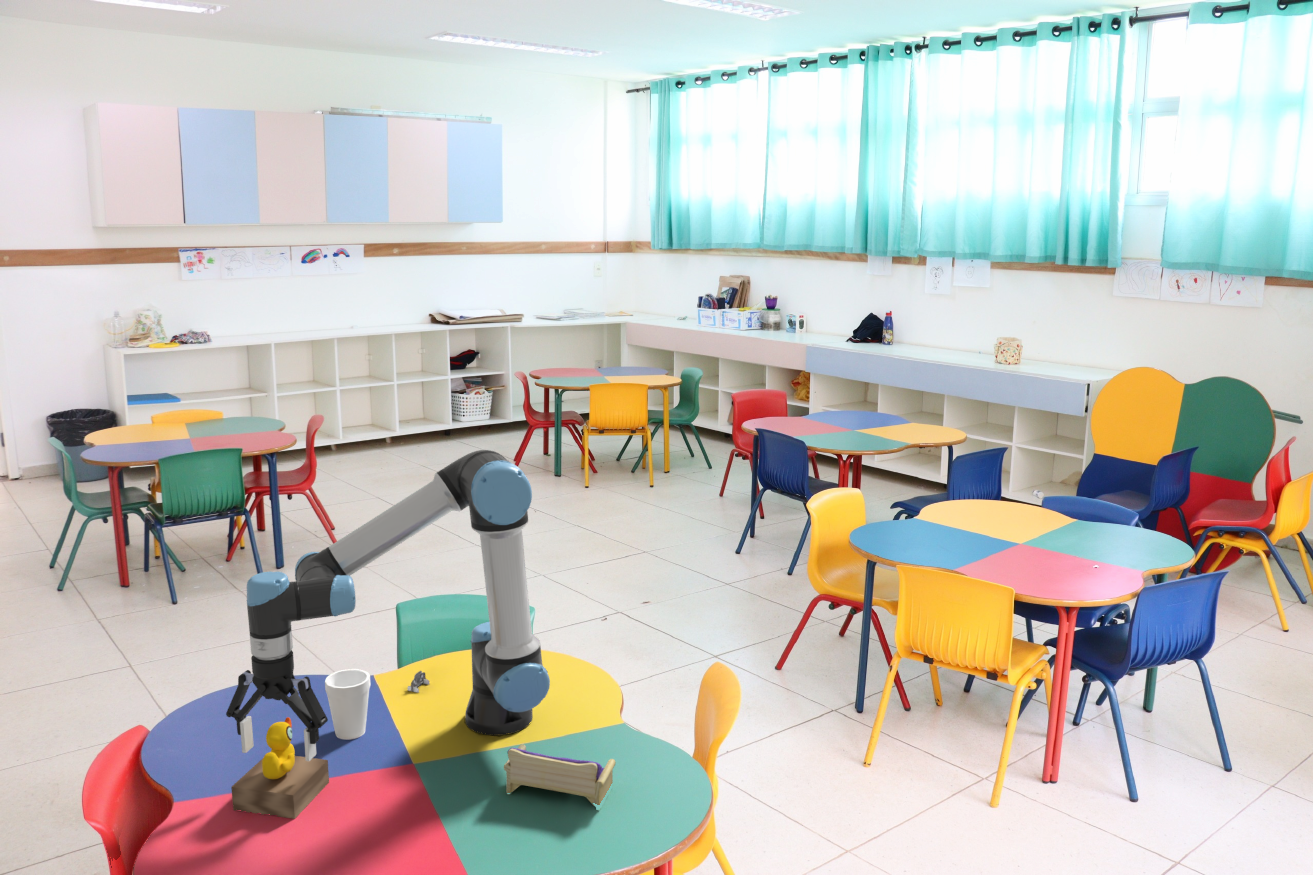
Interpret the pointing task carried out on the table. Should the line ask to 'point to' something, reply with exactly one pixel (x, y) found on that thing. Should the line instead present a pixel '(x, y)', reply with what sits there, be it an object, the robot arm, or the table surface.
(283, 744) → the duckling
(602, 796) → the toy sofa
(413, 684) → the grey toy animal
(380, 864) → the table surface
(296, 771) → the walnut base
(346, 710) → the foam cup
